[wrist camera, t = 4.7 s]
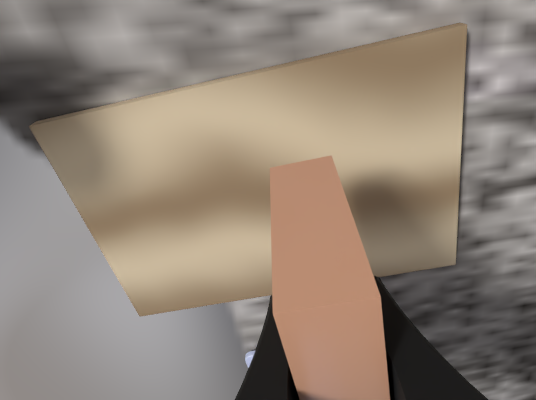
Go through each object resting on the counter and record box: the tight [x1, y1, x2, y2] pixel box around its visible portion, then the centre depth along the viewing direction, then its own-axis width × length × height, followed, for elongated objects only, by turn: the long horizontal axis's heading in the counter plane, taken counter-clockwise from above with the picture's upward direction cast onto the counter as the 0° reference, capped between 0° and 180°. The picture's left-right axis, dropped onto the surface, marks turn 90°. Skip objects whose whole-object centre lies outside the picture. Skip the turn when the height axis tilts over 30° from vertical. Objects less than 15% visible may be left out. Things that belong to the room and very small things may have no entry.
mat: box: [29, 23, 467, 316], centre depth 18 cm, size 12×18×1 cm, turn 103°
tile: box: [270, 155, 390, 400], centre depth 12 cm, size 8×2×6 cm, turn 12°
